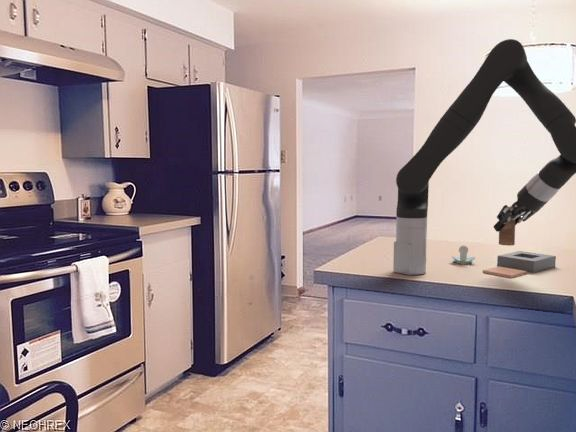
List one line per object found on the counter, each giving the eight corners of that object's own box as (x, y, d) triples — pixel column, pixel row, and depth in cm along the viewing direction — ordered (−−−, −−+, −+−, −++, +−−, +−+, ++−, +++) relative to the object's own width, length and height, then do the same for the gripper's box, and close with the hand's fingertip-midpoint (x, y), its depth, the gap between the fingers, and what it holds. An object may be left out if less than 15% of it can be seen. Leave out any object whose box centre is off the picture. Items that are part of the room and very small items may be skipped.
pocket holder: (533, 272, 151) (534, 261, 150) (497, 266, 160) (497, 255, 160) (555, 266, 159) (555, 256, 159) (519, 260, 169) (519, 250, 168)
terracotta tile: (511, 278, 144) (511, 275, 144) (482, 272, 151) (482, 270, 151) (526, 273, 149) (526, 271, 149) (498, 268, 156) (498, 266, 156)
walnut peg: (509, 245, 146) (510, 212, 145) (495, 244, 149) (496, 211, 148) (517, 244, 148) (518, 211, 147) (503, 242, 152) (504, 210, 151)
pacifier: (450, 261, 170) (452, 264, 164) (451, 243, 170) (453, 245, 164) (472, 262, 168) (475, 265, 163) (473, 244, 168) (476, 246, 162)
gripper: (546, 180, 144) (510, 218, 155) (513, 182, 137) (478, 220, 149) (563, 199, 139) (524, 236, 151) (530, 202, 133) (491, 240, 145)
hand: (501, 228), depth 150 cm, fingers closed on walnut peg, 4 cm apart
